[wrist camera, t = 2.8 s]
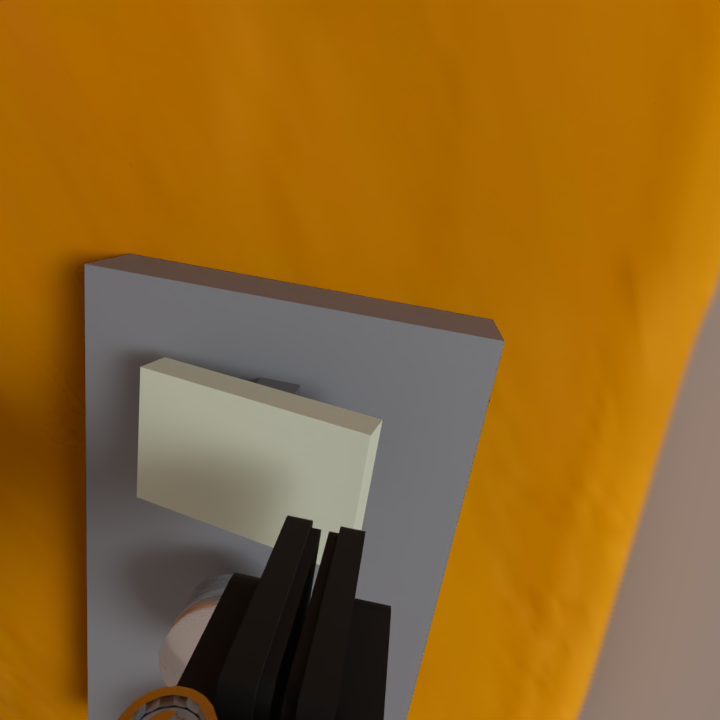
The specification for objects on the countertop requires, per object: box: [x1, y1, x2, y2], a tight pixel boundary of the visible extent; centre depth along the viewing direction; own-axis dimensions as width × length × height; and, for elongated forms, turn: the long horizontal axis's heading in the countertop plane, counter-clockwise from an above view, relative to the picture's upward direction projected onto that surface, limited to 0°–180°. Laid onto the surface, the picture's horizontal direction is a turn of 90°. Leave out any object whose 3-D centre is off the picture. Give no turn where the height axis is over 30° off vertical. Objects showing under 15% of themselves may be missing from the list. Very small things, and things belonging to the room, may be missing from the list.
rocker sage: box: [137, 357, 382, 565], centre depth 14 cm, size 4×6×1 cm, turn 81°
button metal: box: [159, 574, 233, 687], centre depth 16 cm, size 4×4×2 cm
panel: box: [84, 254, 504, 720], centre depth 19 cm, size 20×12×4 cm, turn 171°
